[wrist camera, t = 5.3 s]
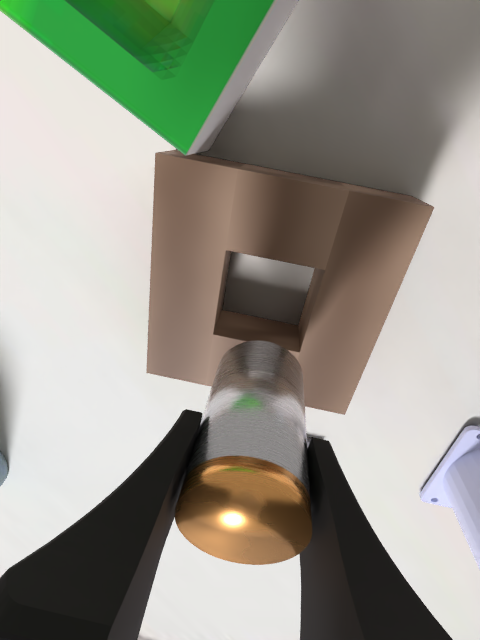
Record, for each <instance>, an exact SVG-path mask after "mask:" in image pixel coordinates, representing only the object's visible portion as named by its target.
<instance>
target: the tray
mask: <svg viewBox="0 0 480 640" xmlns="http://www.w3.org/2000/svg"><path fill="white" fill-rule="evenodd" d="M298 1H299V0H0V11H1V12H2V13H4V14H5V15H6V16H8V17H9V18H10V19H11V20H13V21H14V22H15V23H17V24H18V25H19V26H20V27H22V28H23V29H24V30H25V31H27V32H28V33H29V34H31V35H32V36H33V37H34V38H36V39H37V40H38V41H40V42H41V43H42V44H43V45H45V46H46V47H47V48H48V49H50V50H51V51H52V52H54V53H55V54H56V55H57V56H59V57H60V58H61V59H63V60H64V61H65V62H66V63H68V64H69V65H70V66H72V67H73V68H74V69H75V70H77V71H78V72H79V73H80V74H82V75H83V76H84V77H86V78H87V79H88V80H89V81H91V82H92V83H93V84H95V85H96V86H97V87H98V88H100V89H101V90H102V91H103V92H105V93H106V94H107V95H109V96H110V97H111V98H112V99H114V100H115V101H116V102H118V103H119V104H120V105H121V106H123V107H124V108H125V109H126V110H128V111H129V112H130V113H132V114H133V115H134V116H135V117H137V118H138V119H139V120H141V121H142V122H143V123H144V124H146V125H147V126H148V127H149V128H151V129H152V130H153V131H155V132H156V133H157V134H158V135H160V136H161V137H162V138H164V139H165V140H166V141H167V142H169V143H170V144H171V145H173V146H174V147H175V148H176V149H178V150H179V151H180V152H181V153H183V154H184V155H190V154H195V153H200V152H205V151H209V149H210V147H211V146H212V144H213V142H214V141H215V139H216V137H217V136H218V134H219V132H220V131H221V129H222V127H223V126H224V124H225V122H226V121H227V119H228V117H229V116H230V114H231V112H232V111H233V109H234V107H235V106H236V104H237V102H238V101H239V99H240V97H241V96H242V94H243V92H244V91H245V89H246V87H247V86H248V84H249V82H250V81H251V79H252V77H253V76H254V74H255V72H256V71H257V69H258V67H259V66H260V64H261V63H262V61H263V59H264V58H265V56H266V54H267V53H268V51H269V49H270V48H271V46H272V44H273V43H274V41H275V39H276V38H277V36H278V34H279V33H280V31H281V29H282V28H283V26H284V24H285V23H286V21H287V19H288V18H289V16H290V14H291V13H292V11H293V9H294V8H295V6H296V4H297V3H298Z"/></svg>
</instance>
